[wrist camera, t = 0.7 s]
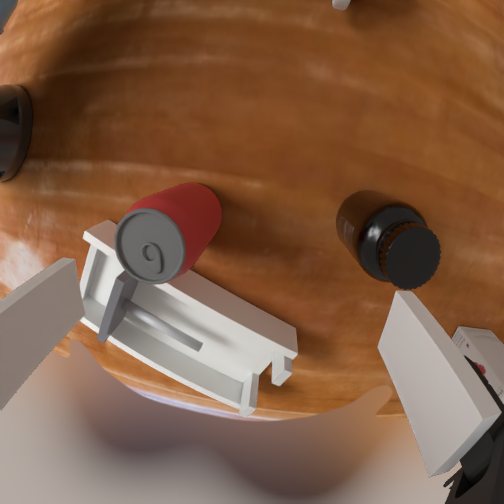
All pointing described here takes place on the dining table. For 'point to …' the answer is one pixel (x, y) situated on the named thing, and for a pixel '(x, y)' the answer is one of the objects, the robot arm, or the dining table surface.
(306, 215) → the dining table surface
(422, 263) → the supplement bottle
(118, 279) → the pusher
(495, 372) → the supplement box
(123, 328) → the white open tray
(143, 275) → the beer can
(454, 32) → the dining table surface
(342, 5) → the cup
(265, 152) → the dining table surface
